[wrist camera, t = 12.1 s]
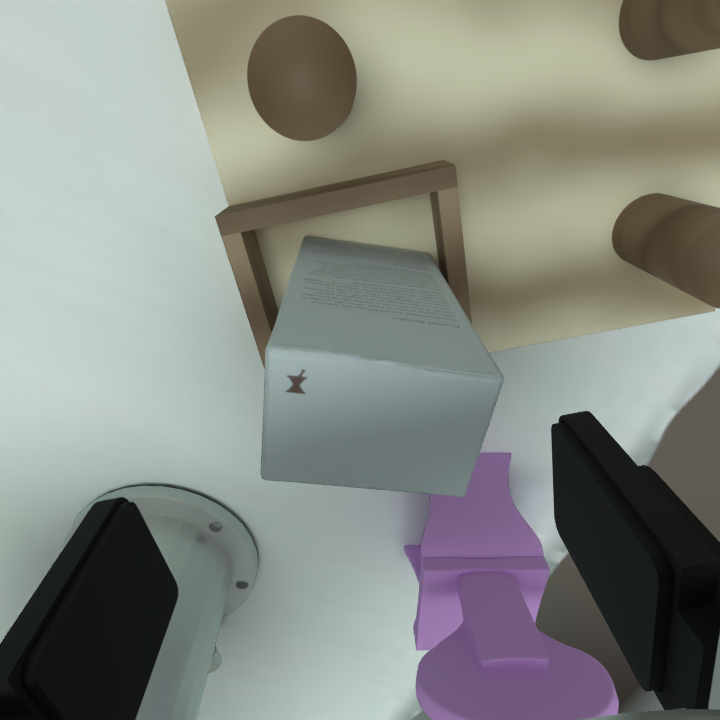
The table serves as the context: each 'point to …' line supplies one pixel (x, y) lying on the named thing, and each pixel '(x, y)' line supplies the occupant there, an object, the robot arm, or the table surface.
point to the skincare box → (374, 374)
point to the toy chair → (493, 615)
